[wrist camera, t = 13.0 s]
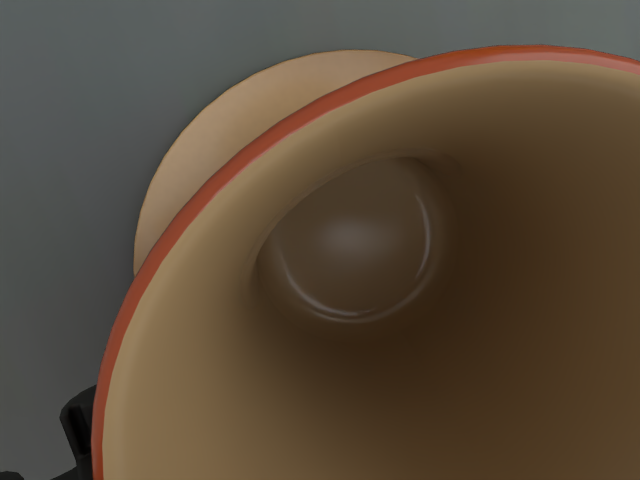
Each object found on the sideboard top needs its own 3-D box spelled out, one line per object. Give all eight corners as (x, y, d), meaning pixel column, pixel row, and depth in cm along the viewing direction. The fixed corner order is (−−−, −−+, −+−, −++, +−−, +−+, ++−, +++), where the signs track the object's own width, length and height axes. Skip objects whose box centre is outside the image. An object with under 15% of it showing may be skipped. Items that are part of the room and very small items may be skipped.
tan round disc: (560, 400, 19) (566, 406, 19) (197, 487, 18) (196, 496, 18) (535, 11, 15) (542, 9, 15) (76, 99, 14) (72, 100, 14)
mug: (134, 165, 15) (-109, 324, 5) (419, 15, 14) (770, -138, 5) (328, 477, 18) (415, 935, 8) (558, 360, 18) (924, 687, 8)
